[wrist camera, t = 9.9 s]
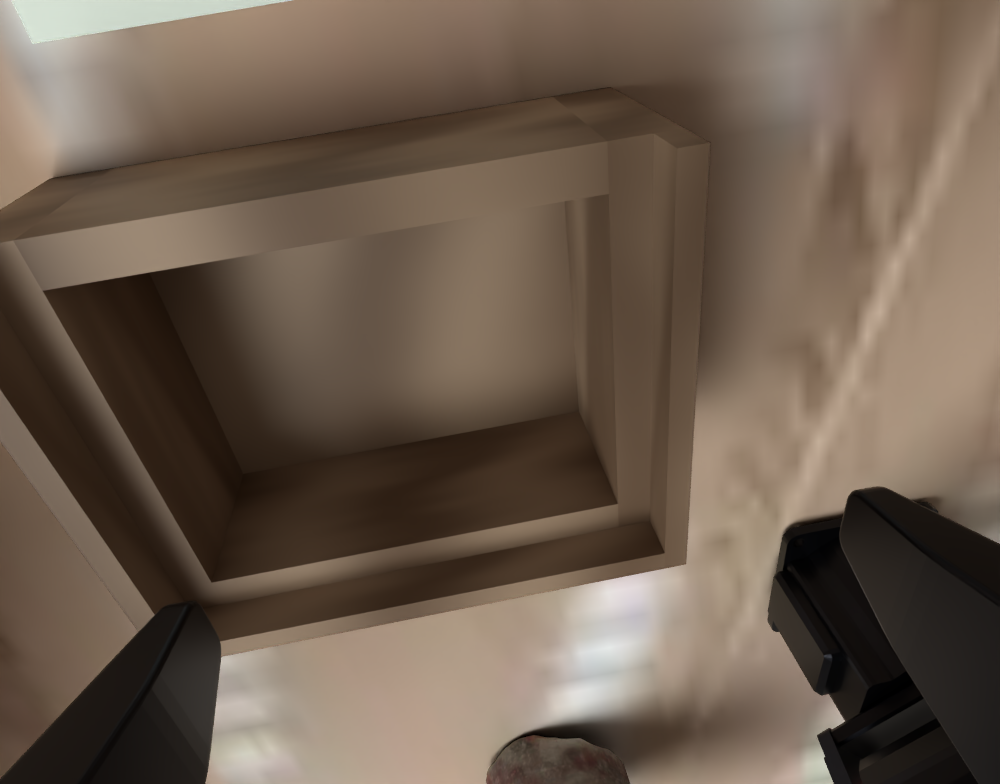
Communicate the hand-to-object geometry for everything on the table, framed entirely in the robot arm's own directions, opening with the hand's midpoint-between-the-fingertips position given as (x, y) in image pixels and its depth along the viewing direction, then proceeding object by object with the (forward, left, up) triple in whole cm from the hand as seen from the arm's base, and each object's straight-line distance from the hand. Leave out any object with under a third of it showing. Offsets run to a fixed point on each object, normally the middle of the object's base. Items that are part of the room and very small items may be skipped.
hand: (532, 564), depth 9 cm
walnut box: (+3, +2, -11) cm, 12 cm away
